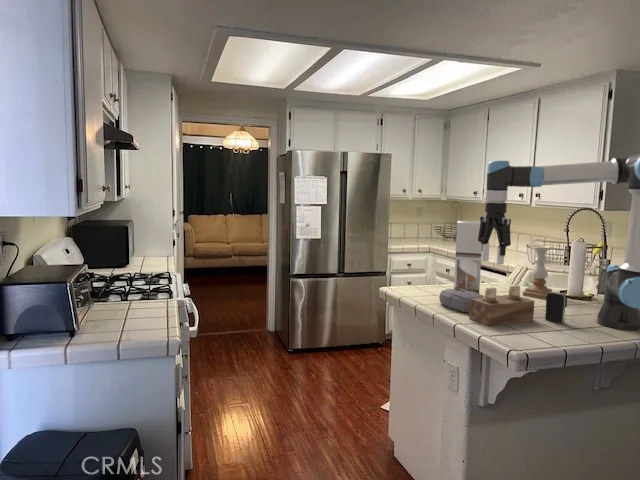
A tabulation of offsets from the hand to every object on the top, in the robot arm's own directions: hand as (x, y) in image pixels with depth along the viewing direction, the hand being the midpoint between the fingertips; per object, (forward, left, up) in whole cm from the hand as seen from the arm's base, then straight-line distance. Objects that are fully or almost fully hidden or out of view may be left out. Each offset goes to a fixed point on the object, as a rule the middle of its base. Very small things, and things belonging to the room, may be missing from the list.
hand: (492, 262), depth 184 cm
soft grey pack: (+20, -4, -24) cm, 31 cm away
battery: (-9, -25, -23) cm, 35 cm away
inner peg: (0, -12, -16) cm, 20 cm away
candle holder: (+26, -54, -23) cm, 64 cm away
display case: (+38, -21, -23) cm, 49 cm away
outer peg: (0, 0, -16) cm, 16 cm away
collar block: (0, -6, -23) cm, 24 cm away
